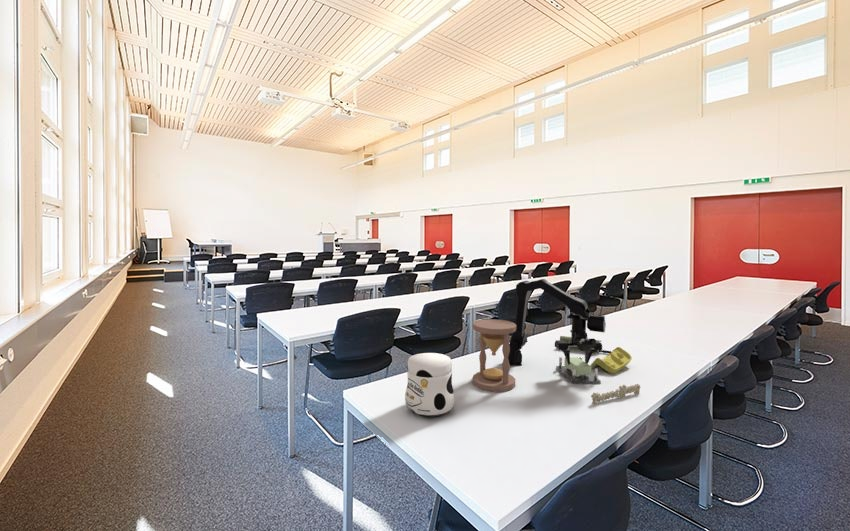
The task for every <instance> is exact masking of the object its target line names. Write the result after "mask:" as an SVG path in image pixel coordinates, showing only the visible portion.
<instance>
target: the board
mask: <svg viewBox="0 0 850 531" xmlns="http://www.w3.org/2000/svg"><path fill="white" fill-rule="evenodd" d="M563 363H564V365H563V366H566V367H567V368H569V369H570V370H571V371H572V370H573V369H576V374H577V375H591V373H592V367H591V366H590V365H591V364H589V363H588V364H587V363H585V360H583V359H582V360H581V359H579V357H578V356H577V357H576V356H575V357H572V356H570V365H568V363H567V360H566V358H565V357H564V362H563Z"/></svg>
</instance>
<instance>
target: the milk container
mask: <svg viewBox="0 0 850 531" xmlns="http://www.w3.org/2000/svg"><path fill="white" fill-rule="evenodd" d="M452 365H453V364H452V359H451V358H450V356H448V355H446V354H443V353H437V352H423V353H416V354H413V355H411V356H410V357H408V360H407V367H406V368H407V373H406V374H407V385H406V387H405V388H406V390H405V394H404V397H405V398H404V400H405V405H406V408H407V409H408V411H410V412H411V413H413V414H415V415H418V416H421V417H427V418H428V417H431V418H432V417H439V416H443V415H445V414H446V413H447V414H448V413H449V412H450V411H451V410H452V408H453V407H454V403H455V391H454V388H453V387H454V386H453V382H452V381H453V370H452V368H453V367H452Z"/></svg>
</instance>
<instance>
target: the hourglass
mask: <svg viewBox="0 0 850 531" xmlns="http://www.w3.org/2000/svg"><path fill="white" fill-rule="evenodd" d="M472 329H473V330H474V331H475V332H478V333H480V334H479V335H480V336H479V340H478V341H479V346H480V353H479V355H478V356H479V371H478V372H476V373H474V374H473V376H472V378H471V379H472V380H471V383H473V386H475V387H476V388H478V389H480V390H483V391H486V392H487V391H488V392H496V393H497V392H498V393H499V392H508V391H510V390H512V389H514V388H515V387H516V378H515V377H514V376H513V375H511V374H510V366H511V365H510V364H509V360H508V356H509V352H510V345H509V344H510V334H513V332H515V331H516V324H515V322H513V321H510V320H505V319H494V318H493V319H492V318H487V319H478V320H475V321H473V323H472ZM486 346H487V347H488V348H489V350H490V352H491V356H493V357H494V356H496V355H497V351H499V349H500V348H501V347H502V349H501V350H502V355H503V360H502V364H501V369H499V368H498V367H497V368H496V367H490V368H486V363H487V353H486V348H487V347H486Z"/></svg>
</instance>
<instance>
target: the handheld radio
mask: <svg viewBox="0 0 850 531" xmlns="http://www.w3.org/2000/svg"><path fill="white" fill-rule="evenodd" d="M559 336H560V337H559V340H564V341H565V342H567V343H571V341H570V339H571V336H565V335H559ZM596 340H597V341H598V342H600V343H602V340H599V339H596ZM570 349H571V350H570ZM569 350H570V351H578V350H579V349H578V347H569ZM579 352H581V351H580V350H579ZM611 352H612V351H611V350H605V349H602V350H597V352H594V353H593V354H600V353H603V354H608V355H609V354H610V353H611Z"/></svg>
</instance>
